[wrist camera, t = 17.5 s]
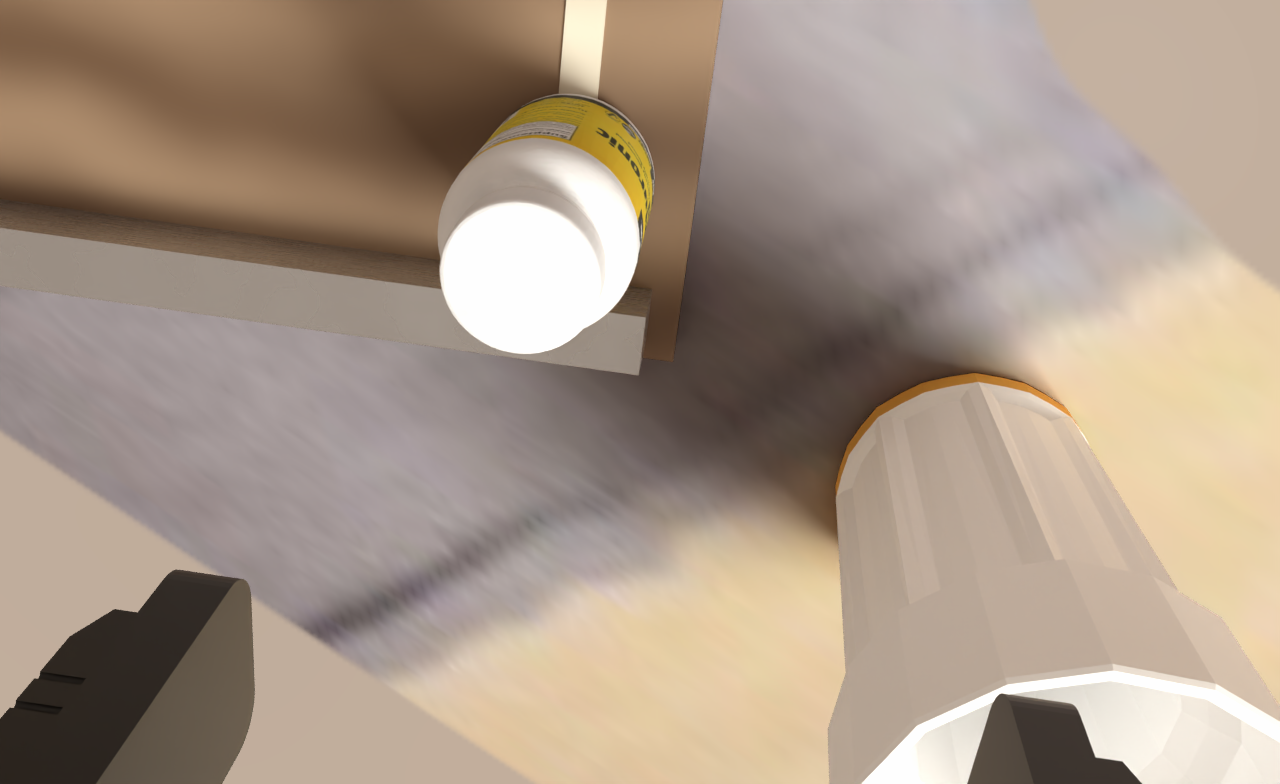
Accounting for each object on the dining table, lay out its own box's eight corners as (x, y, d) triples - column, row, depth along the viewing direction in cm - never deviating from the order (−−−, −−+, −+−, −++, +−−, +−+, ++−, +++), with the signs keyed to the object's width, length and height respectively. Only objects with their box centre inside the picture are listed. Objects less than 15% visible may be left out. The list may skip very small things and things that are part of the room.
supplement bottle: (670, 245, 38) (644, 371, 29) (507, 265, 39) (435, 394, 30) (643, 76, 36) (606, 157, 27) (471, 101, 37) (381, 189, 28)
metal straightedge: (-115, 183, 40) (-167, 204, 38) (652, 289, 39) (645, 317, 37) (-105, 239, 41) (-156, 264, 38) (645, 344, 40) (638, 375, 38)
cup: (887, 295, 40) (971, 597, 24) (1189, 412, 41) (1456, 775, 25) (757, 554, 45) (757, 944, 29) (1028, 654, 46) (1169, 1084, 30)
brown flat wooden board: (-177, -200, 36) (-215, -202, 35) (734, -83, 35) (733, -80, 34) (-103, 236, 42) (-133, 250, 41) (675, 344, 41) (672, 362, 40)
